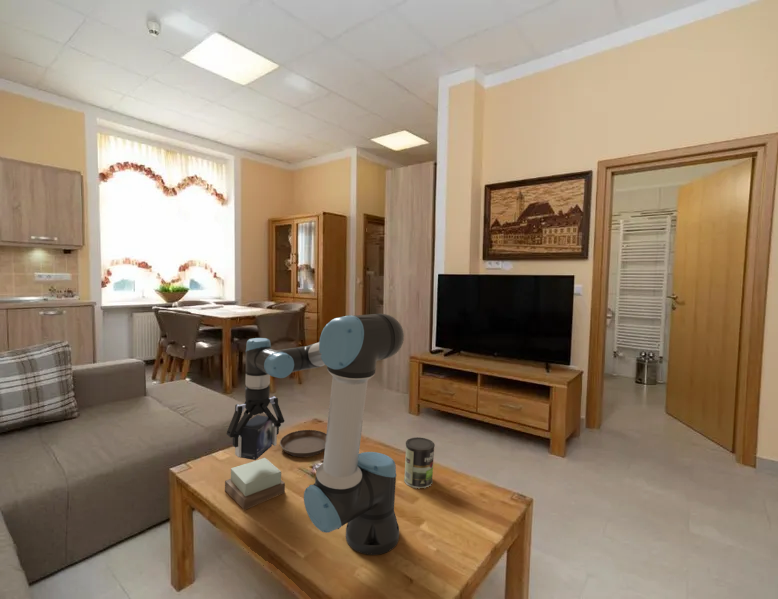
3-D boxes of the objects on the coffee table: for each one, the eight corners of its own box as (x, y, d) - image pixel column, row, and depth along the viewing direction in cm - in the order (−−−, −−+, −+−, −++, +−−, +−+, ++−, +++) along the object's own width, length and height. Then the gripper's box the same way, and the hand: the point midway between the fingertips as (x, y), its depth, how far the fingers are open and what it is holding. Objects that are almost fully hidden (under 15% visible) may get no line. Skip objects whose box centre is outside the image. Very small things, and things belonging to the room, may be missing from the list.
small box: (256, 461, 123) (257, 429, 122) (238, 458, 124) (238, 426, 123) (273, 446, 133) (273, 416, 132) (255, 443, 135) (256, 414, 134)
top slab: (281, 483, 129) (281, 471, 129) (245, 496, 121) (245, 484, 121) (264, 468, 138) (265, 457, 137) (230, 479, 130) (230, 468, 129)
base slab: (284, 494, 130) (284, 482, 129) (244, 511, 120) (244, 499, 119) (263, 477, 139) (264, 466, 139) (224, 492, 129) (224, 480, 129)
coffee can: (437, 479, 142) (439, 442, 141) (423, 492, 133) (425, 452, 132) (413, 470, 148) (414, 434, 146) (398, 482, 139) (400, 444, 138)
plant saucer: (314, 464, 149) (315, 456, 149) (269, 453, 156) (269, 445, 156) (338, 442, 169) (339, 434, 169) (297, 433, 175) (297, 426, 175)
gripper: (284, 376, 138) (282, 435, 140) (215, 389, 121) (214, 457, 123) (295, 381, 133) (294, 443, 135) (225, 396, 116) (224, 466, 118)
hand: (256, 449), depth 129 cm, fingers closed on small box, 12 cm apart
